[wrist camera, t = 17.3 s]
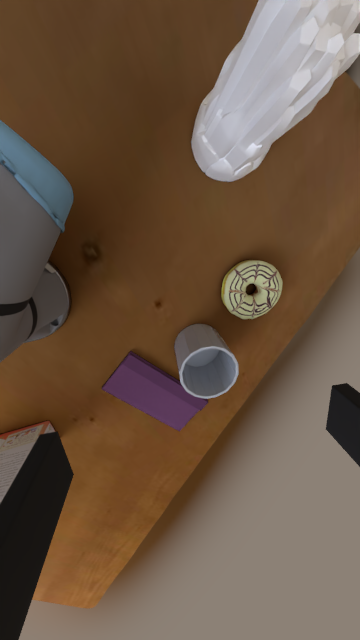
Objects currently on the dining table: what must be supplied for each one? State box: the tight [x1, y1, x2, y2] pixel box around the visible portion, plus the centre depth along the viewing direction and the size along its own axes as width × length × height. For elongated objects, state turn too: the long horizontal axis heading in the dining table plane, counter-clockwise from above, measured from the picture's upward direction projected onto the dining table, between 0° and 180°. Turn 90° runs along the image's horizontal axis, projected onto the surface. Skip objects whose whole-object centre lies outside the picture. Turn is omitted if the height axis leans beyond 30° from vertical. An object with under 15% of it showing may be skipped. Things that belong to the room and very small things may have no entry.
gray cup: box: [174, 324, 238, 399], centre depth 42 cm, size 10×10×10 cm
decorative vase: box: [191, 0, 360, 182], centre depth 24 cm, size 11×11×25 cm
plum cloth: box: [102, 351, 208, 431], centre depth 48 cm, size 10×20×1 cm, turn 51°
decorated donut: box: [221, 260, 283, 319], centre depth 42 cm, size 10×11×4 cm
